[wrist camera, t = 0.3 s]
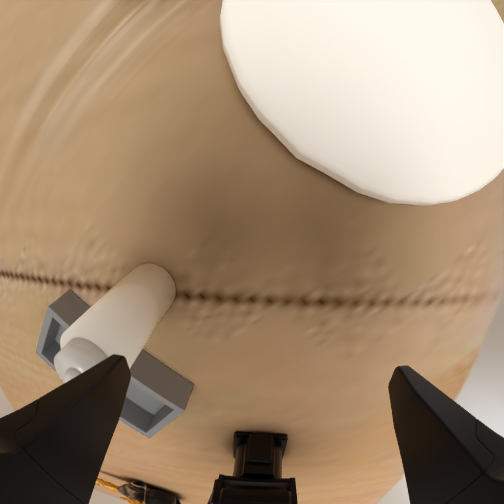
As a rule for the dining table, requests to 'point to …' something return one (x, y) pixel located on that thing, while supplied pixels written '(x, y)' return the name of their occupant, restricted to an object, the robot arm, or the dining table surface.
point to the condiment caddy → (142, 371)
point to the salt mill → (117, 321)
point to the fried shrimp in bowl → (140, 493)
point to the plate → (377, 89)
